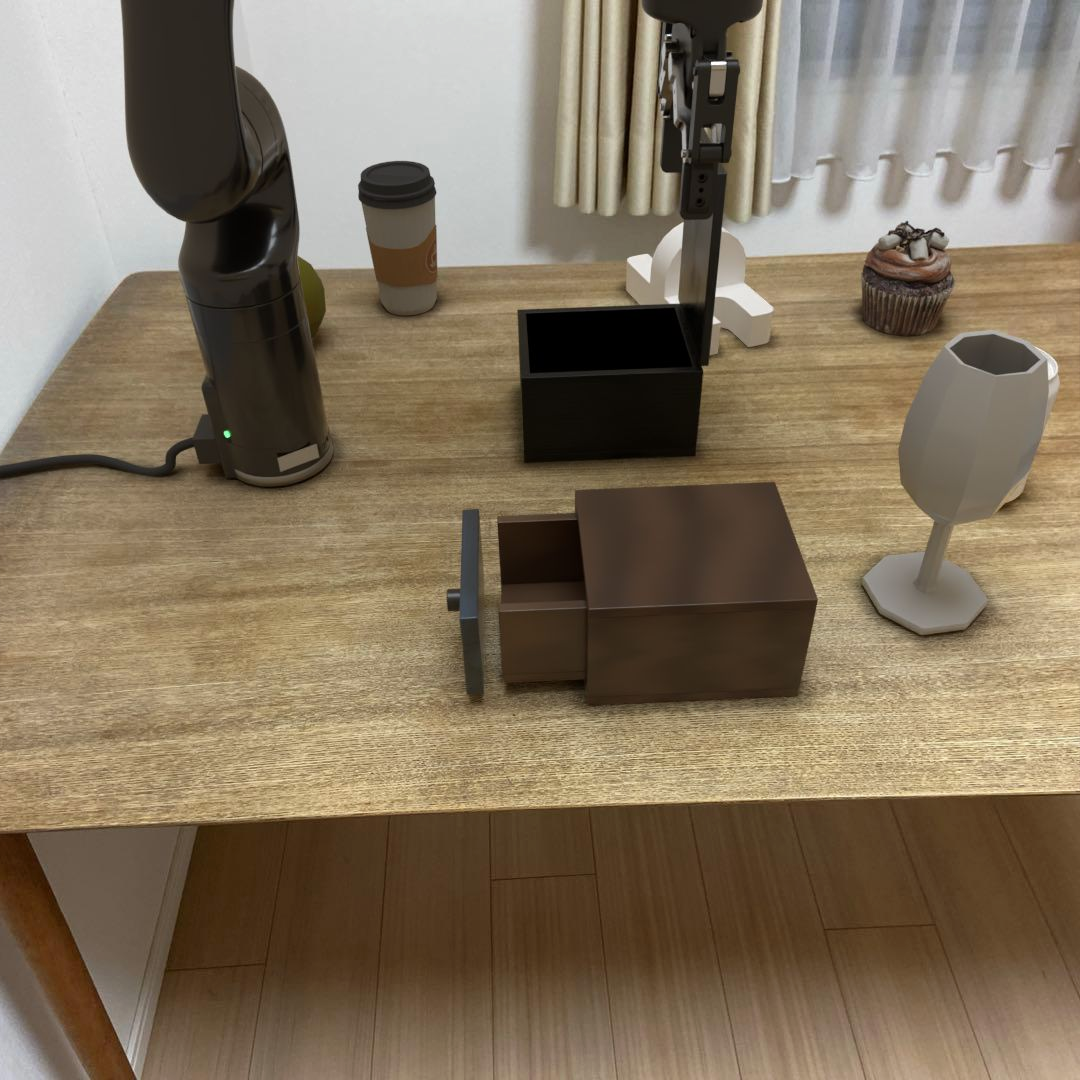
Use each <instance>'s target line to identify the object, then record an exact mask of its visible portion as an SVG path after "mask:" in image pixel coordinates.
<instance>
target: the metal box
mask: <svg viewBox="0 0 1080 1080" xmlns="http://www.w3.org/2000/svg"><path fill="white" fill-rule="evenodd" d="M516 311H517V332H518V333H517V334H518V337H517V338H518V360H519V362H518V363H519V387H520V408H521V409H520V410H521V426H522V448H523V449H522V450H523V463H543V462H570V461H595V460H619V459H621V460H622V459H642V458H643V459H645V458H666V457H669V458H670V457H692V456H696V454H697V445H698V432H699V425H700V423H699V422H700V413H701V404H702V403H701V401H702V390H703V379H704V369H703V366H699V363H698V359H697V356H696V353H695V350H694V347H693V344H692V341H691V337H690V334H689V331H688V328H687V325H686V322H685V318H684V315H683V312H682V309H681V306H680V304H654V305H639V304H631V305H629V304H628V305H605V306H603V305H602V306H579V307H578V306H577V307H552V308H551V307H550V308H548V307H547V308H527V309H526V308H525V309H517V310H516Z"/></svg>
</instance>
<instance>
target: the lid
mask: <svg viewBox="0 0 1080 1080" xmlns="http://www.w3.org/2000/svg"><path fill="white" fill-rule="evenodd" d="M700 143H712V140H711V139H710V137H709V134H708V133H707V131H706V128H701V138H700ZM727 179H728V173H727V170H726V169H725V167H724V164H723V163H718V172H717V181H716V190H715V199H714V209H713V214H712V216H711V217H710V218H709V219H704V220H684V219H683V222H684V224H683V238H682V252H681V266H680V279H679V293H678V300H679V303H680V306H681V309H682V312H683V315H684V318H685V322H686V325H687V328H688V331H689V334H690V337H691V341H692V344H693V347H694V350H695V353H696V356H697V359H698V363H699V366H702V367H707V366H709V365H710V357H711V355H710V346H711V336H712V325H713V315H714V305H715V294H716V284H717V274H718V263H719V253H720V243H721V233H722V227H723V222H724V213H725V212H724V210H725V201H726V200H725V199H726V191H727Z"/></svg>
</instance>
